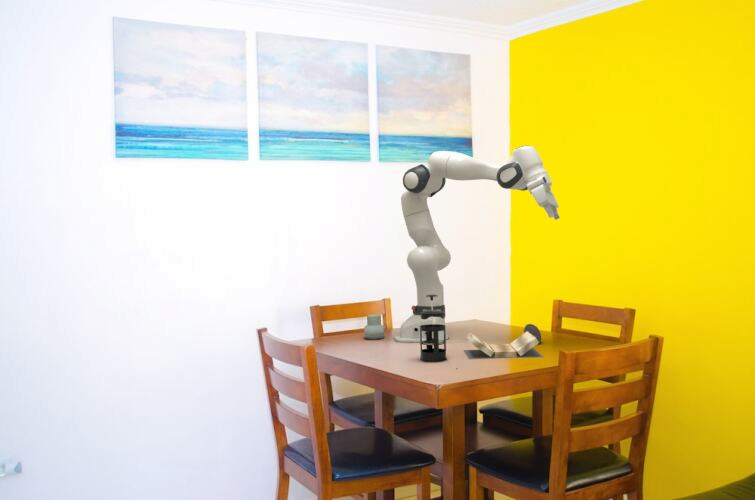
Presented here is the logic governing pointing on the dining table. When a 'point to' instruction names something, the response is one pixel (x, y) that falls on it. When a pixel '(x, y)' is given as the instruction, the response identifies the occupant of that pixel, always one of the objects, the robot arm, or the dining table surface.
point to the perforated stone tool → (533, 331)
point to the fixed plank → (502, 350)
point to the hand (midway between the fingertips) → (554, 218)
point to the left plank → (480, 344)
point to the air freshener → (374, 327)
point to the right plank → (524, 343)
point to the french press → (432, 331)
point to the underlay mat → (481, 355)
